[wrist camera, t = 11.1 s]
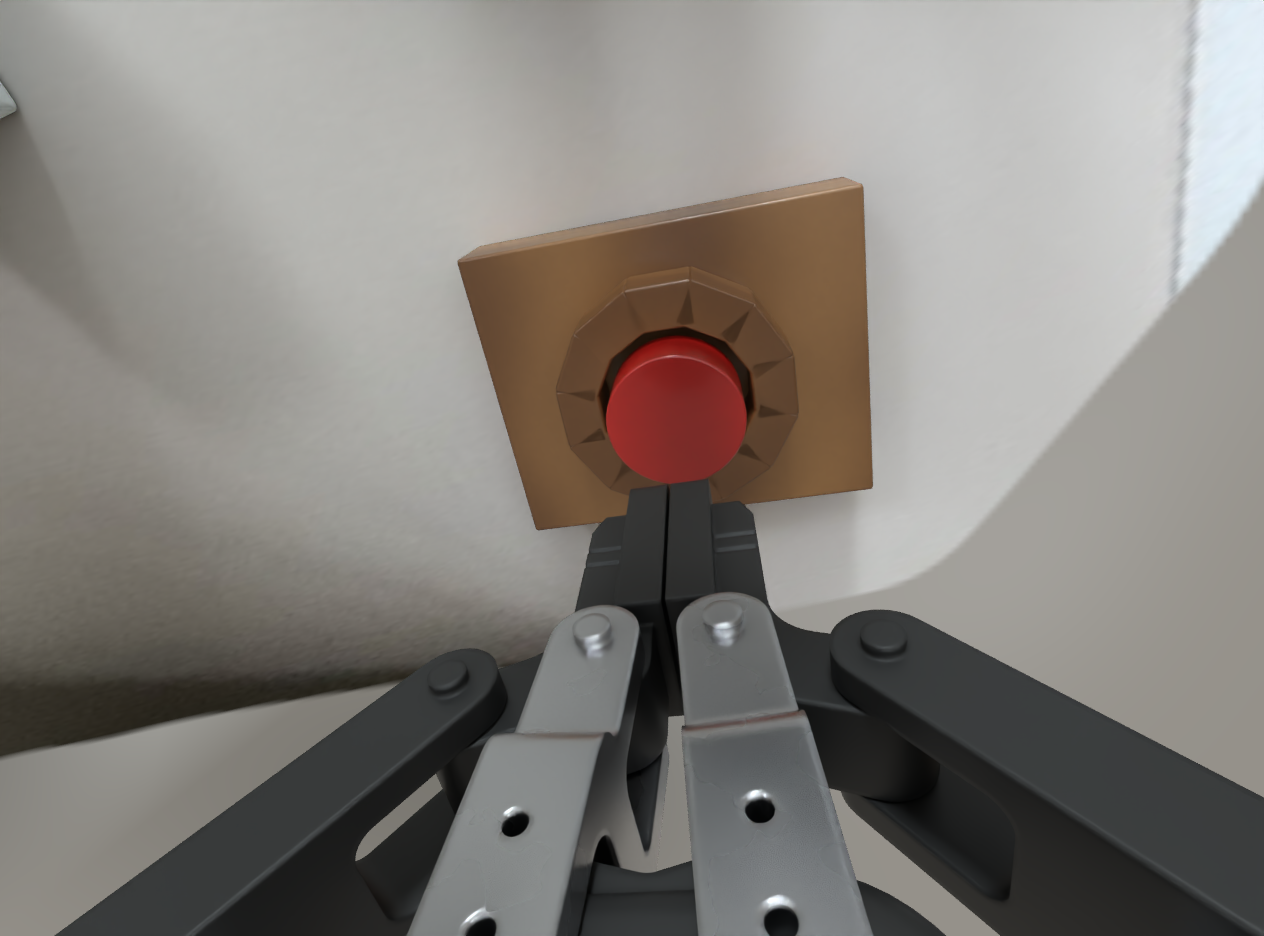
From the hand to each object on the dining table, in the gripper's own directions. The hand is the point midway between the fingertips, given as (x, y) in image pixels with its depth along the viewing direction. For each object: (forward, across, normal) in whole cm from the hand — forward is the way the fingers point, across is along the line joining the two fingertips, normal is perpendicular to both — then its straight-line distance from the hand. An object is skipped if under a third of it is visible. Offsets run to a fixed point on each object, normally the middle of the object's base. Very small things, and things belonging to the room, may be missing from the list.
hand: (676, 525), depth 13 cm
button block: (+10, 0, 0) cm, 10 cm away
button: (+7, 0, 0) cm, 7 cm away
